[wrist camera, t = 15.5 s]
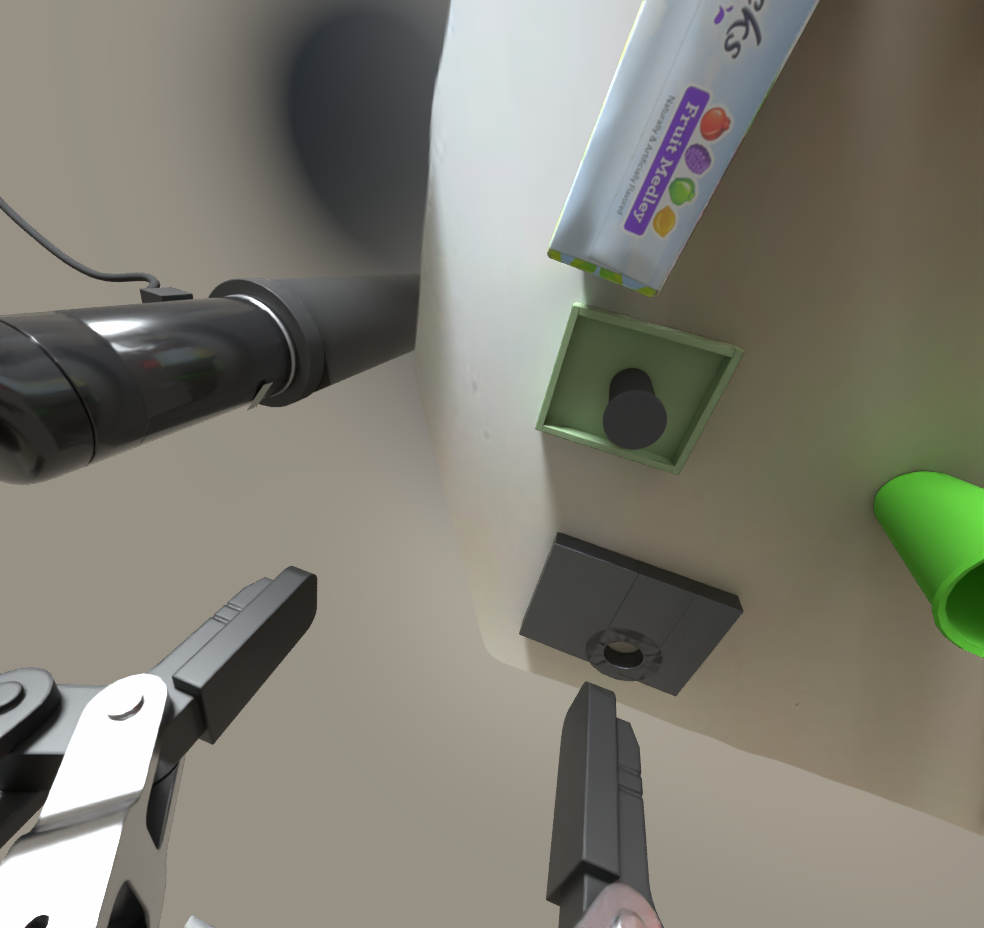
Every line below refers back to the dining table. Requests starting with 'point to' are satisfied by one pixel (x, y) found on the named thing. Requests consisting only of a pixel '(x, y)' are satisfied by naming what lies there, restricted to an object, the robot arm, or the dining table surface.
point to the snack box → (671, 132)
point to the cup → (941, 547)
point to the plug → (633, 411)
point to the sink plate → (626, 614)
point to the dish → (651, 348)
